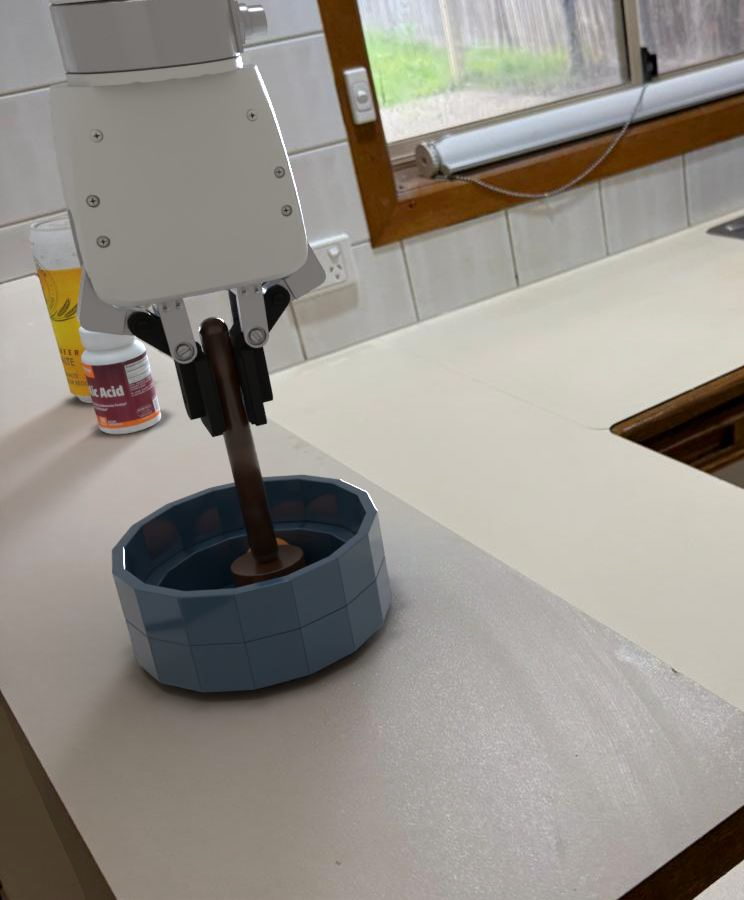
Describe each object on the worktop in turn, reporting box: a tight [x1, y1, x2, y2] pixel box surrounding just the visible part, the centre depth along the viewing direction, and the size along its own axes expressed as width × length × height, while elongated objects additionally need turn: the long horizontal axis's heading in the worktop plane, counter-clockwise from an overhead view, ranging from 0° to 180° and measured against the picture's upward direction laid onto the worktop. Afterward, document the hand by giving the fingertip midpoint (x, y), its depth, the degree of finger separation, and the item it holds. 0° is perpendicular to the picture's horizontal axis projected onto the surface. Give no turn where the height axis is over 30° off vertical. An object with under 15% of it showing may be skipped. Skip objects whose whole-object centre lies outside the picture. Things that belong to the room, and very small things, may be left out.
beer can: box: [28, 214, 93, 404], centre depth 96 cm, size 6×6×15 cm
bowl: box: [111, 474, 393, 693], centre depth 60 cm, size 13×13×6 cm
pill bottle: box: [79, 326, 162, 435], centre depth 90 cm, size 5×5×8 cm
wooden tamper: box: [198, 316, 306, 588], centre depth 59 cm, size 4×4×15 cm
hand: (233, 420), depth 58 cm, fingers closed on wooden tamper, 1 cm apart
